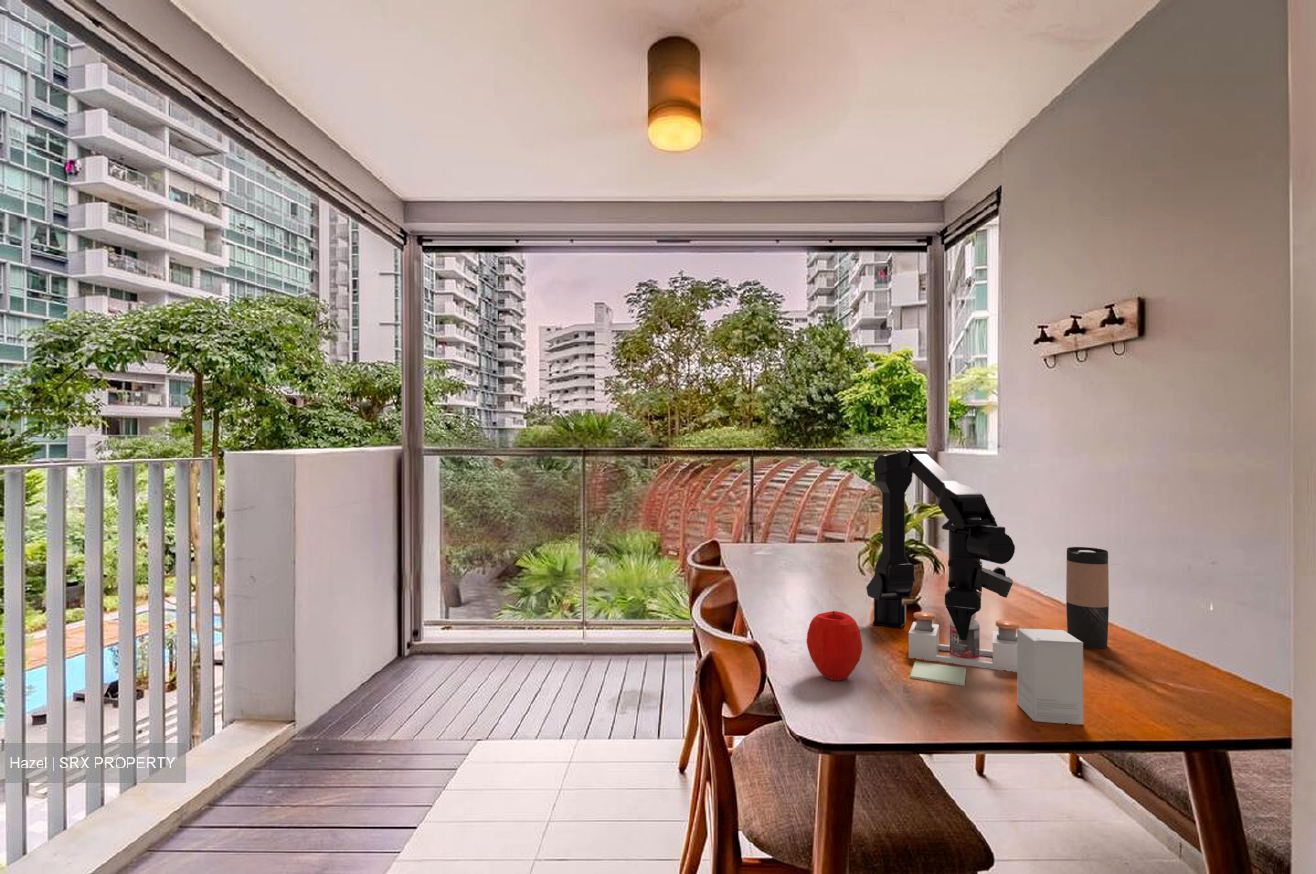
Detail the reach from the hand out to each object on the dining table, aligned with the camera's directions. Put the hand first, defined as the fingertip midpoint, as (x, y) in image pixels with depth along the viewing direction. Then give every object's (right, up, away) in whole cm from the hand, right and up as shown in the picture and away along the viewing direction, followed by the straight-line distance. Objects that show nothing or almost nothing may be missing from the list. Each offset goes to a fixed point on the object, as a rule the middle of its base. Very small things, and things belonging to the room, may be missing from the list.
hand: (964, 633), depth 135 cm
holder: (0, -5, 0) cm, 5 cm away
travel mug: (+30, -5, +10) cm, 32 cm away
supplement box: (+1, -5, -27) cm, 28 cm away
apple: (-28, -5, -11) cm, 31 cm away
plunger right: (+7, -2, -3) cm, 8 cm away
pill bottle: (0, -5, 0) cm, 5 cm away
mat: (-9, -5, -9) cm, 14 cm away
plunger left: (-7, -2, +3) cm, 8 cm away
